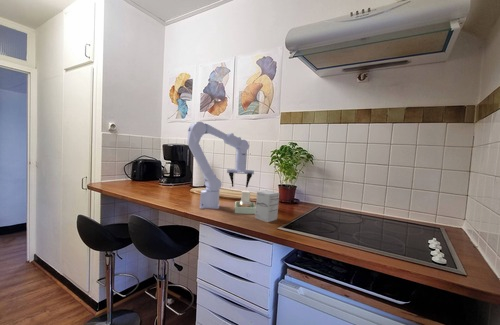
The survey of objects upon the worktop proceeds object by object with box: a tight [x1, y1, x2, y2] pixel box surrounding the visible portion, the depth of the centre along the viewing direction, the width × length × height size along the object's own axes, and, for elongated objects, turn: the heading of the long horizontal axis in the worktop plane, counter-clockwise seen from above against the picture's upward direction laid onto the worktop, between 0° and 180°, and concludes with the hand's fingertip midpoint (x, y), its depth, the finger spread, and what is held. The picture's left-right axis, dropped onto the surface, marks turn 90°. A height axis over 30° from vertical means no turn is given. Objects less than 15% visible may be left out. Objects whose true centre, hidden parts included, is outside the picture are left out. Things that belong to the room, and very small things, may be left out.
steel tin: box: [239, 199, 252, 207], centre depth 118 cm, size 6×6×4 cm
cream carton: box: [240, 190, 251, 202], centre depth 117 cm, size 4×4×5 cm
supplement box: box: [254, 189, 280, 223], centre depth 104 cm, size 7×7×13 cm
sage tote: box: [234, 200, 256, 215], centre depth 117 cm, size 10×12×4 cm
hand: (239, 186), depth 127 cm, fingers open, 7 cm apart
